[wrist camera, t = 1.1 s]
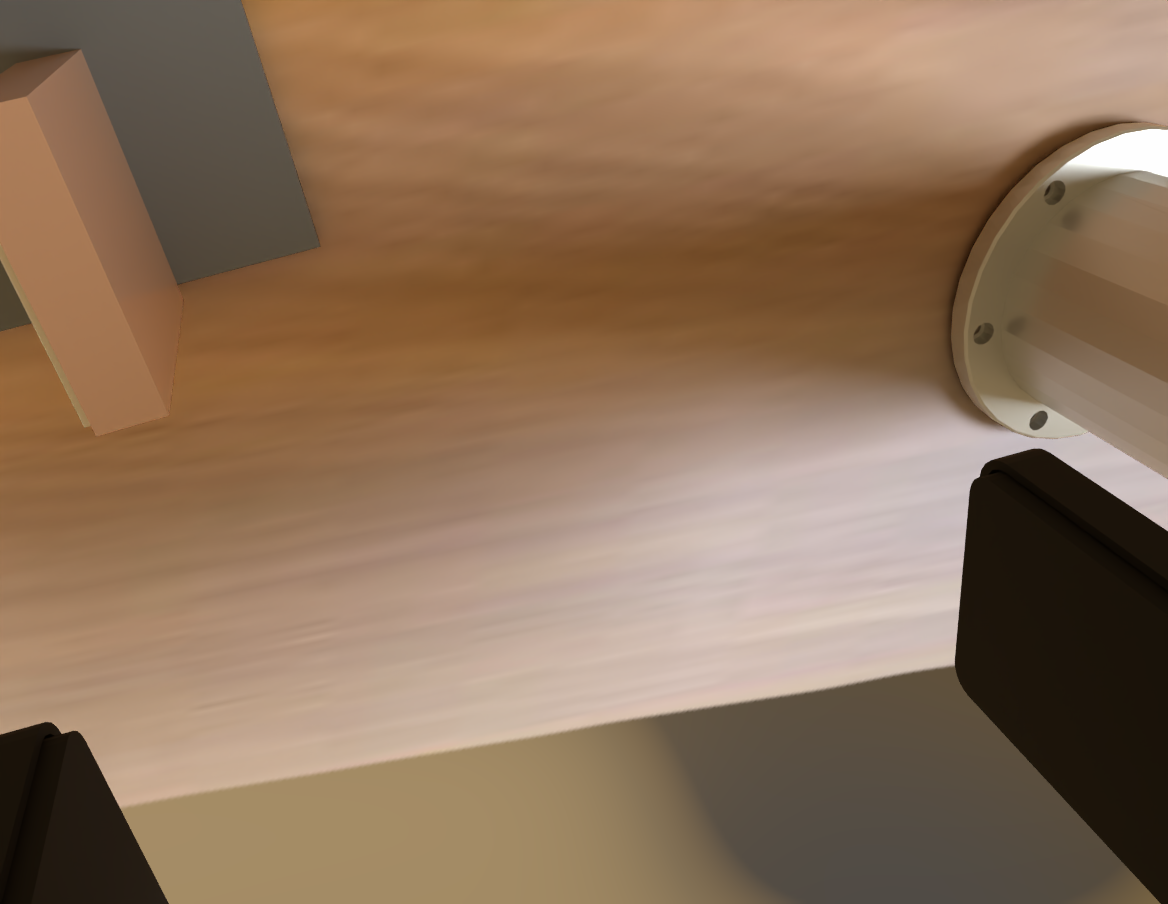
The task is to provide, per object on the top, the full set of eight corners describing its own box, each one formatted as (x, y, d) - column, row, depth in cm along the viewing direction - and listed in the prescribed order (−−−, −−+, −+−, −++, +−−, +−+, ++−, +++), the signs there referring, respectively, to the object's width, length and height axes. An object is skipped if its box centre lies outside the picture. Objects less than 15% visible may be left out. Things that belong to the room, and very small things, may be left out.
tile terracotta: (80, 49, 26) (27, 96, 19) (183, 300, 29) (168, 415, 22) (7, 65, 25) (-74, 119, 19) (121, 317, 29) (87, 439, 22)
